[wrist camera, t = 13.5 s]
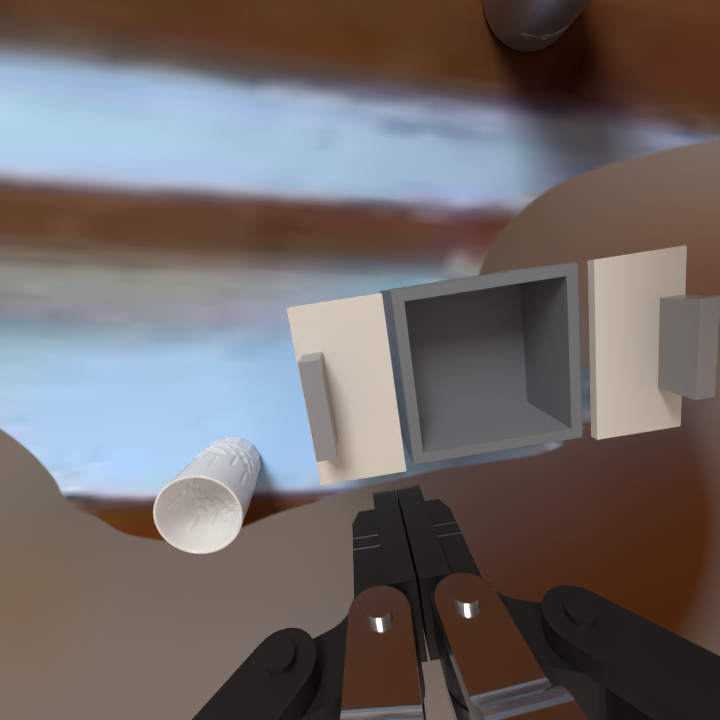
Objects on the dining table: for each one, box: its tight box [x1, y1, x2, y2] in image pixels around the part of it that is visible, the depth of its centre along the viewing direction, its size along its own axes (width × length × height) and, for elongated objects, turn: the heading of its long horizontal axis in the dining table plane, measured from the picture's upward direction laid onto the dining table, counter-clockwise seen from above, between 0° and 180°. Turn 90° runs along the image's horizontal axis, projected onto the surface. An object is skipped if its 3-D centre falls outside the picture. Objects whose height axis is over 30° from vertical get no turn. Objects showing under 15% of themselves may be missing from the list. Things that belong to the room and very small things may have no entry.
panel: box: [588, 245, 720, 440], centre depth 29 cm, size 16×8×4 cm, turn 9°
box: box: [380, 262, 582, 465], centre depth 35 cm, size 16×16×9 cm
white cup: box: [153, 436, 261, 554], centre depth 36 cm, size 8×8×10 cm
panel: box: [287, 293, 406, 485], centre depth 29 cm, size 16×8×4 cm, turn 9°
